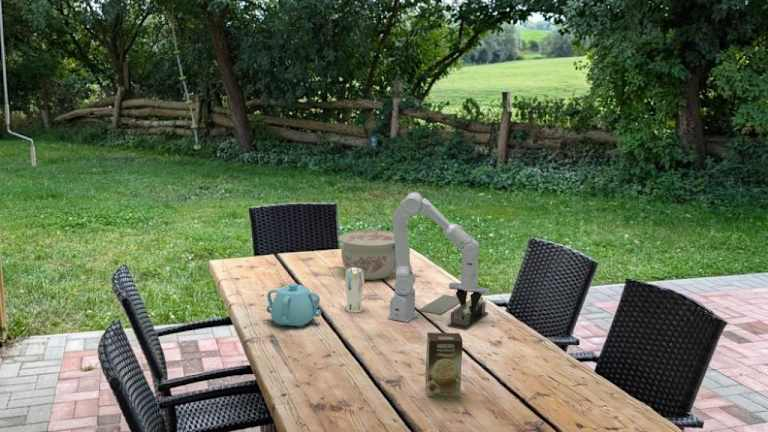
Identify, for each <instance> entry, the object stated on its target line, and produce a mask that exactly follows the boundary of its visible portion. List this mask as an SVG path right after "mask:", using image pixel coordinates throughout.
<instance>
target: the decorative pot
mask: <svg viewBox="0 0 768 432" xmlns="http://www.w3.org/2000/svg"><path fill="white" fill-rule="evenodd" d="M272 293H276V294H275V297H274V299H273V300H272V296H271V295H272ZM266 297H267V302H268V304H269V305H268V306H266V313H268V314H270V316H271V319H272V321H274V323H275V324H276V325H277V326H280V327H282V326H295V327H297V328H302V327H304V325H306V324H309V323H310V322H311V321H312V320H313V319H314V317H315V318H317V317H320V316H322V311H321V310H320V309H318V307H319V304H320V300H321V298H320V295H319V294H318V293H317V292H315V291H311V290H310V288H308V287H307V286H304V285H302V284H298V283H288V285H284V286H283V287H281V288H279V289H278V288H277V289H275V288H273V289H270V290H269V291H268V293H267V295H266ZM314 297H315V299H316V301H315V299H314Z"/></svg>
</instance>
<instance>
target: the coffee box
mask: <svg viewBox="0 0 768 432" xmlns="http://www.w3.org/2000/svg"><path fill="white" fill-rule="evenodd" d="M426 334H427V336H426V355H425V356H426V358H425V378H424V379H425V380H424V381H425V382H424V385H425V387H424V388H425V392H426V393H425V394H426V397H430V398H431V397H432V398H433V397H437V398H441V397H442V398H444V397H445V398H447V397H449V398H451V397H452V398H456V397H458V398H460V397H461V384H462V361H463V359H462V358H463V343H464V342H463V338H462V335H461V334H460V332H427V333H426Z"/></svg>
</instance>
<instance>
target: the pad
mask: <svg viewBox="0 0 768 432" xmlns="http://www.w3.org/2000/svg"><path fill="white" fill-rule="evenodd" d="M457 305H460V302H459V299H458V297H457V296H454V295H448V294H443V295H441V296H440V297H437V299H434V300H433V301H432V302H430V303H428V304H426V305H424V306H423V307H421V308H420V309H418V312H421V313H426V314H427V313H428V314H432V315H440V316H442V315H444V314H445V313H446V312H448V311H449V310H451V309H453V308H454V307H456V306H457Z"/></svg>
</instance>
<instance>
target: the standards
mask: <svg viewBox="0 0 768 432" xmlns="http://www.w3.org/2000/svg"><path fill="white" fill-rule="evenodd" d="M486 305H487V302H485V301H483V303H482V304H480V308H478V309H477V310H475V312H474V313H471V314H470V313H467V314H465V315H464V319H463V320H460V319H454V310H452V311H451V312H450V322H449V323H448V324H447V325H446V327H447V326H448V327H447V328H452V329H458V330H463V331H467V330H468V329H470V328H471V327H472V326H474V325H475V324H476V323H478V322H479V321H481V320H482V319H484V318H485V317H486V316H488V315H489V312H488V311H486Z"/></svg>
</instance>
